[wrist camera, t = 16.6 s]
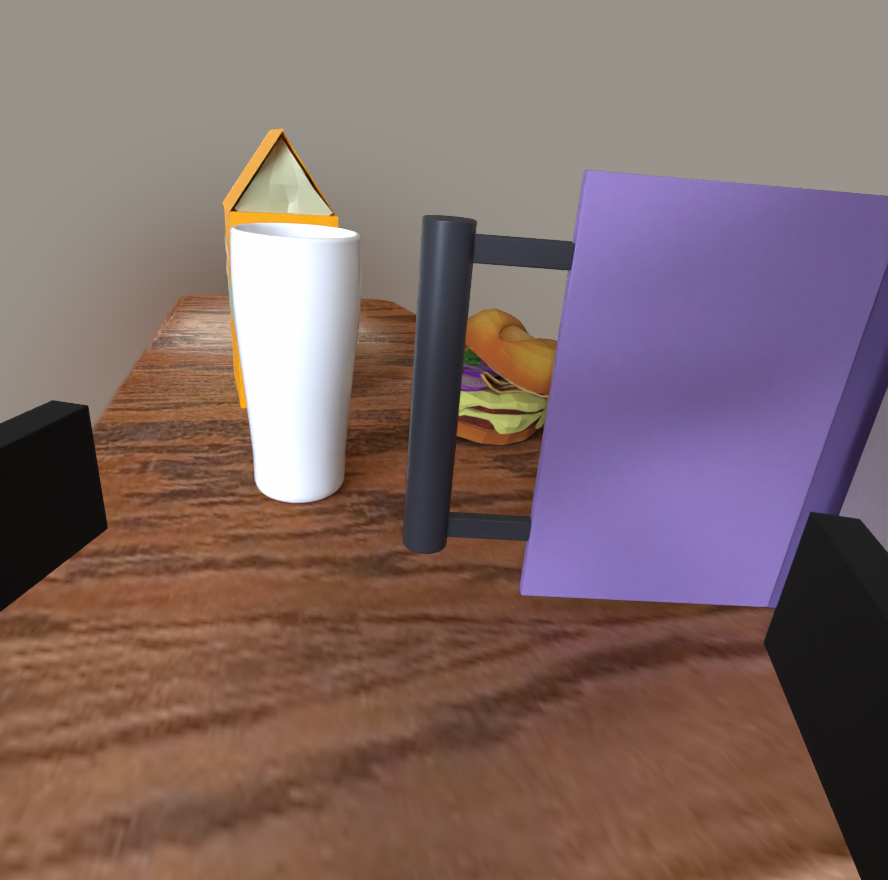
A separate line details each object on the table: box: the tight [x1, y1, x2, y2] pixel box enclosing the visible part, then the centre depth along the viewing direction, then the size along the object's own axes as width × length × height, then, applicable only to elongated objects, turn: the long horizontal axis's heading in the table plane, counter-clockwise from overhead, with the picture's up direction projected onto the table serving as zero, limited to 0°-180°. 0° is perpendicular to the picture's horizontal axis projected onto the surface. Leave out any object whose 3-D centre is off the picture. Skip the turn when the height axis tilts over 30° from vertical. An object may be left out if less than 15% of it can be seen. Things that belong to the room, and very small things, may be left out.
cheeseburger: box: [457, 309, 557, 445], centre depth 49 cm, size 10×11×10 cm
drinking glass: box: [230, 223, 361, 503], centre depth 36 cm, size 7×7×15 cm
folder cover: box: [403, 170, 888, 607], centre depth 27 cm, size 2×18×18 cm, turn 92°
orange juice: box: [222, 129, 338, 408], centre depth 50 cm, size 8×9×20 cm
